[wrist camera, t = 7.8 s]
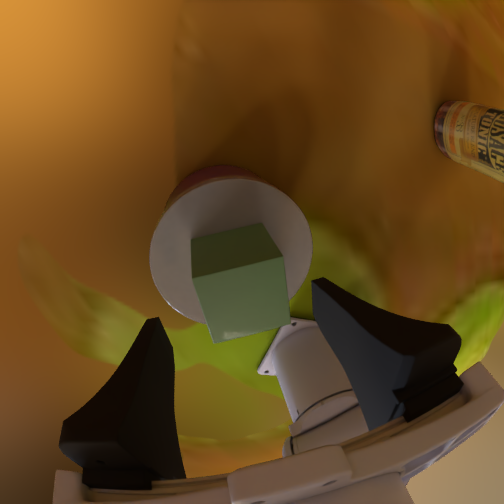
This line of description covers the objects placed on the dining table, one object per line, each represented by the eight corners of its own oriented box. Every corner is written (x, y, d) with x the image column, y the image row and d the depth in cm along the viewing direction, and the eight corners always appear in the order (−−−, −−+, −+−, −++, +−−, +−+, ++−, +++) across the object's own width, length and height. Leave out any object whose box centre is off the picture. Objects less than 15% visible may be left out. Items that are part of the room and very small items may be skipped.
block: (262, 222, 16) (283, 255, 12) (271, 282, 18) (291, 324, 14) (190, 239, 16) (191, 278, 12) (207, 297, 17) (213, 344, 14)
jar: (302, 184, 22) (338, 209, 17) (258, 288, 25) (276, 335, 20) (179, 144, 19) (174, 156, 13) (146, 264, 22) (137, 310, 17)
